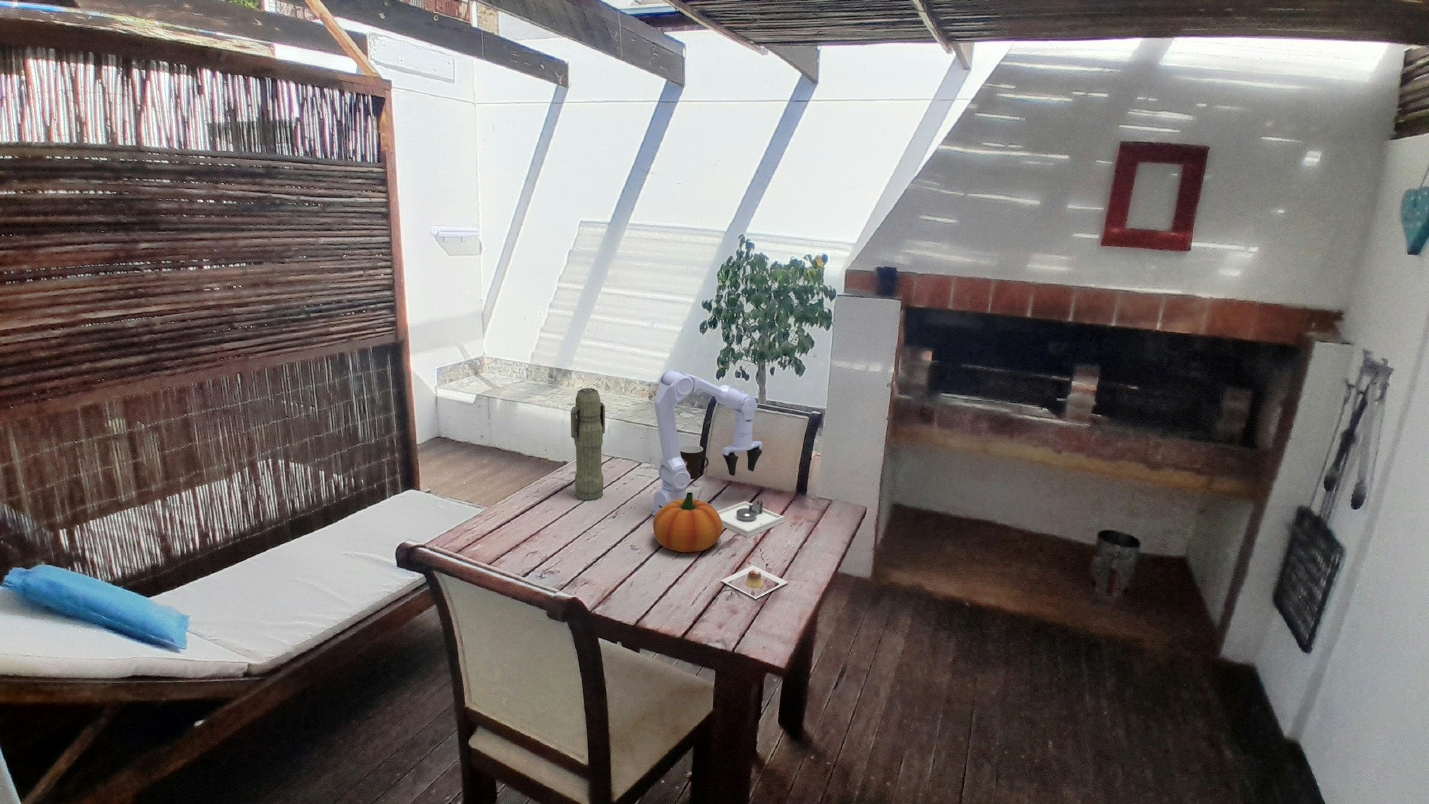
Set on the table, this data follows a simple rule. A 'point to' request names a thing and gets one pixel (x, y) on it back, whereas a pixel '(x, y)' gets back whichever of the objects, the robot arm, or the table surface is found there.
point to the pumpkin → (687, 525)
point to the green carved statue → (588, 443)
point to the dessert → (754, 579)
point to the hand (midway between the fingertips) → (741, 472)
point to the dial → (750, 511)
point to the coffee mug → (692, 459)
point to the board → (748, 527)
